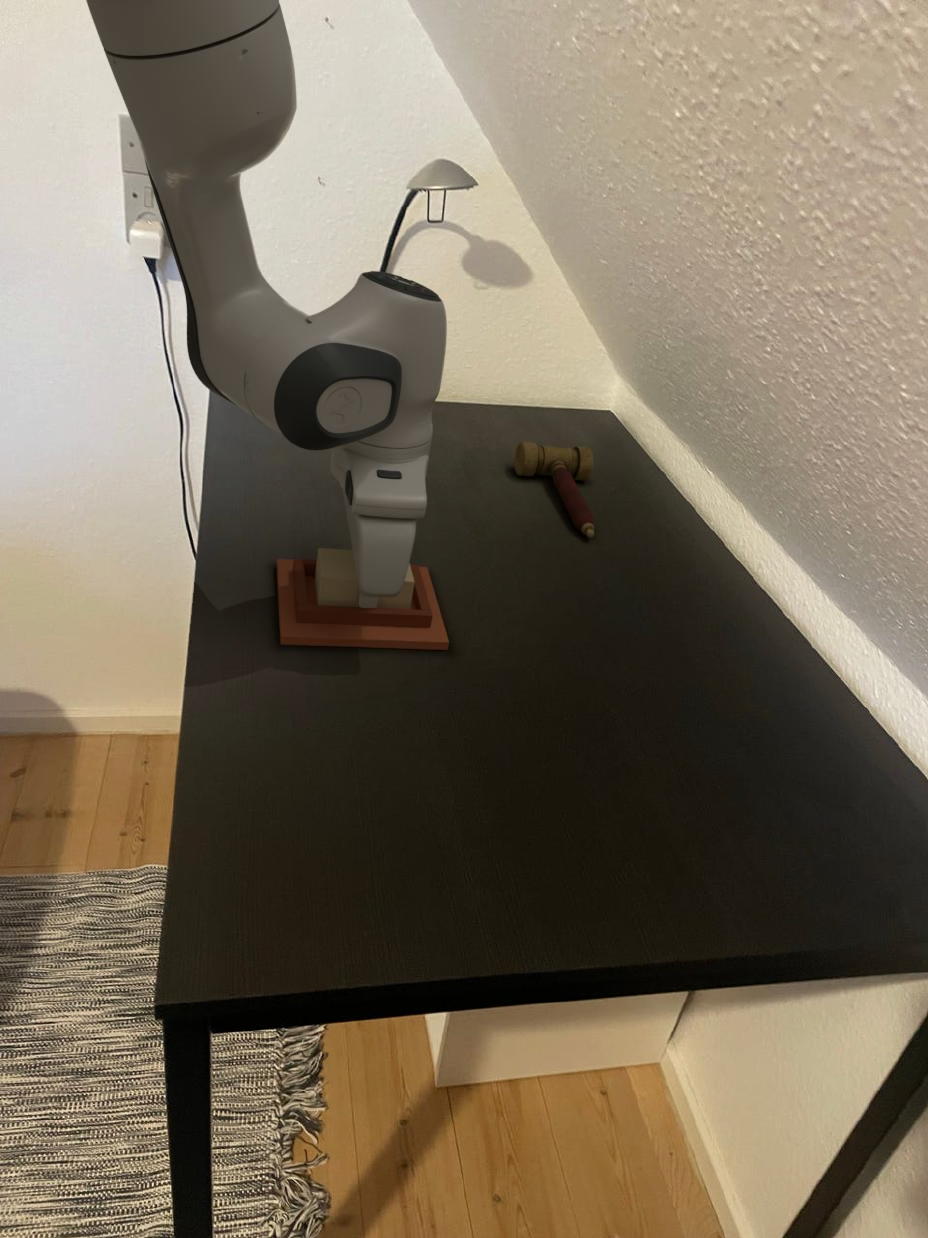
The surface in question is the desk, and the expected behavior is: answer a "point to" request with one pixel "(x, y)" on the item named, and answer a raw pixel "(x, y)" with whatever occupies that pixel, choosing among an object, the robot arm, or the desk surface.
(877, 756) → the desk surface
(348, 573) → the top pad
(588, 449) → the gavel
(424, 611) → the base pad
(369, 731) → the desk surface
